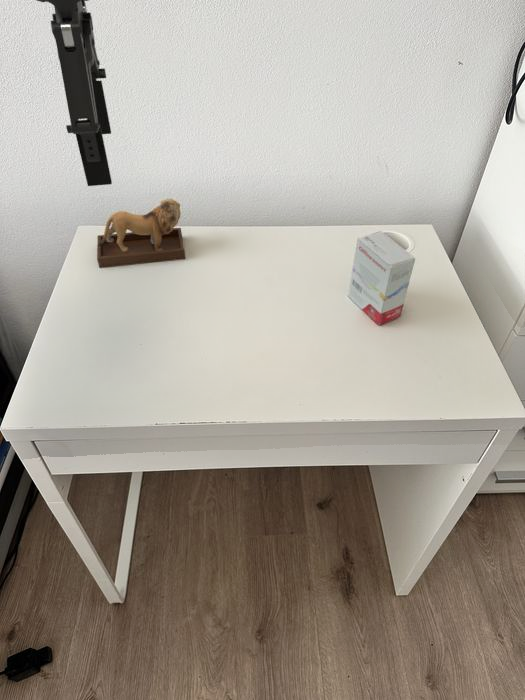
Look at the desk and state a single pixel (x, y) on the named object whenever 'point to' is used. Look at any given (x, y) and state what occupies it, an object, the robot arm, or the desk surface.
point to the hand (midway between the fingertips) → (100, 157)
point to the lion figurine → (144, 224)
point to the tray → (140, 249)
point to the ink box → (380, 277)
